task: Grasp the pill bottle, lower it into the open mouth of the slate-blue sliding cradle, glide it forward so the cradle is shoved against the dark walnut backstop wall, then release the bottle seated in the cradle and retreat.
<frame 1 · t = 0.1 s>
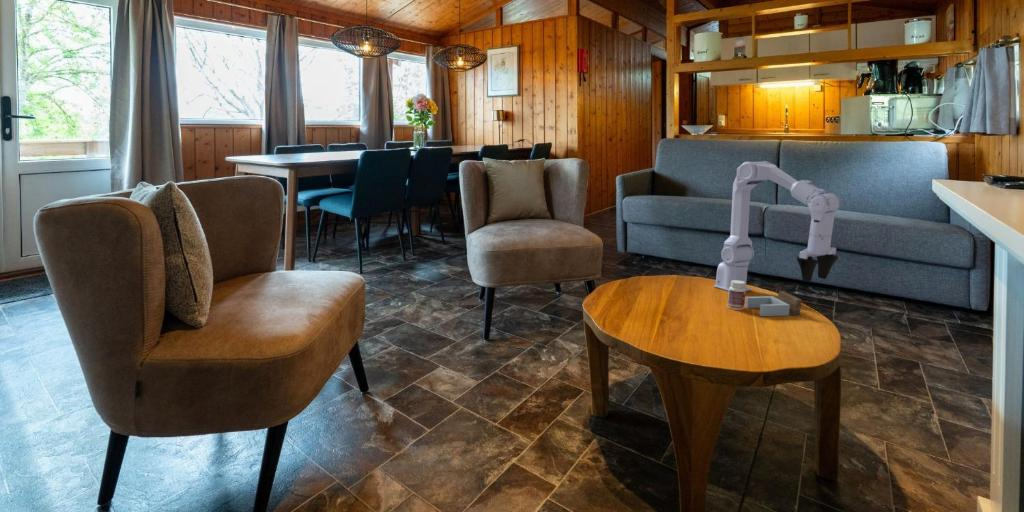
hand: (814, 279, 159), 10 cm above the table, fingers open, 7 cm apart
pill bottle: (735, 308, 165), on the table
cradle: (767, 305, 162), point 2 cm above the table, slide at 0.0 cm
backstop wall: (787, 311, 162), on the table
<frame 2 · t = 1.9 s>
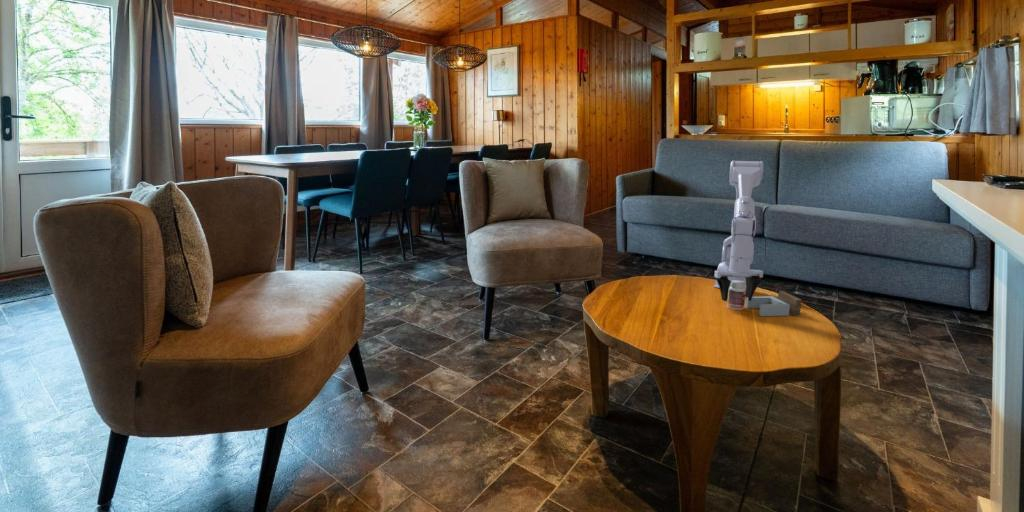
hand: (736, 300, 164), 3 cm above the table, fingers open, 7 cm apart
cradle: (767, 305, 162), point 2 cm above the table, slide at 0.0 cm, touching gripper
everything else where it was.
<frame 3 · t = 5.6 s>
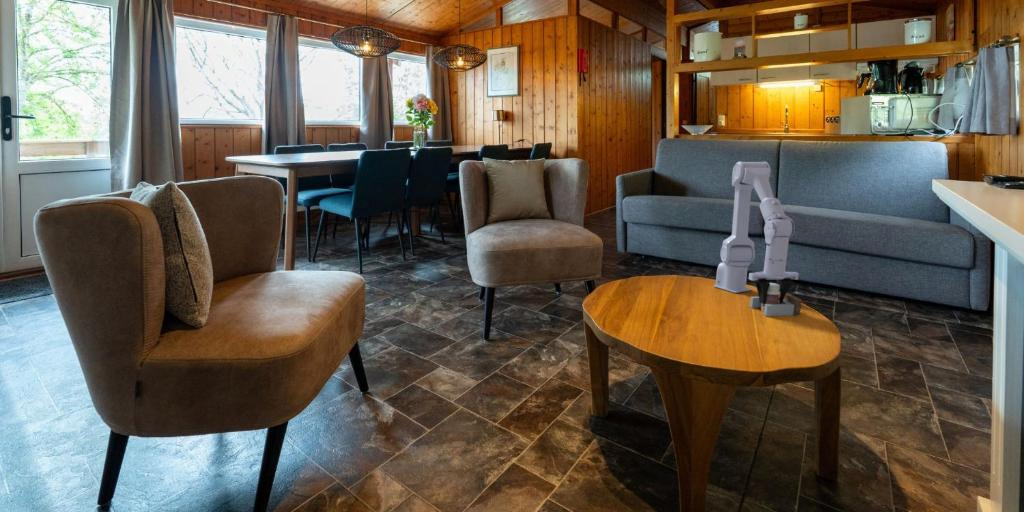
hand: (770, 302, 161), 3 cm above the table, fingers closed on pill bottle, 5 cm apart
pill bottle: (769, 311, 162), on the table, touching gripper
cradle: (771, 305, 162), point 2 cm above the table, slide at 1.5 cm, touching gripper
when the fingers open (3 cm above the table, at t = 7.0 s): pill bottle stays where it is, on the table.
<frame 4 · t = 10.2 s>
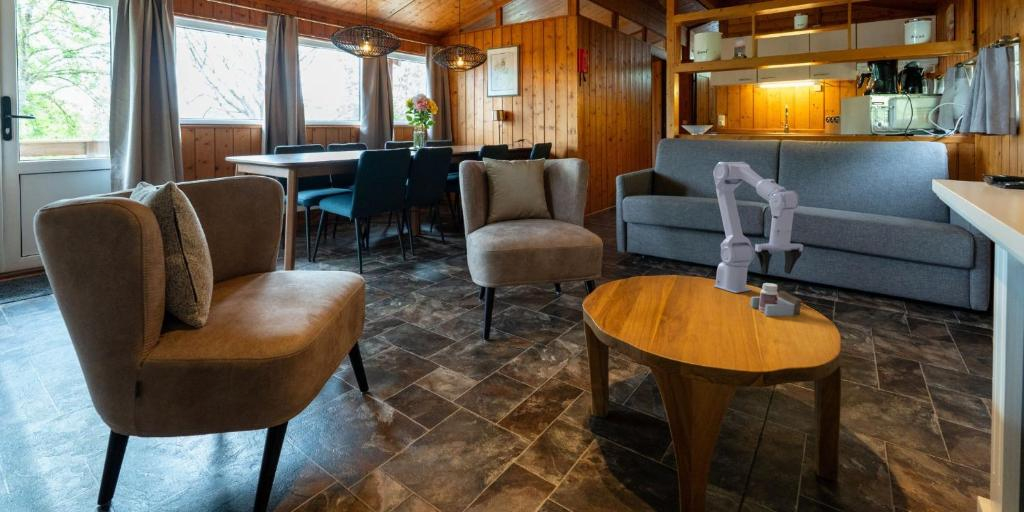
hand: (775, 273, 167), 10 cm above the table, fingers open, 7 cm apart
pill bottle: (767, 311, 162), on the table
cradle: (771, 305, 162), point 2 cm above the table, slide at 1.6 cm, touching backstop wall
at the end: cradle slide at 1.6 cm; pill bottle 1.3 cm from the cradle (horizontally); pill bottle tilted 0° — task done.
